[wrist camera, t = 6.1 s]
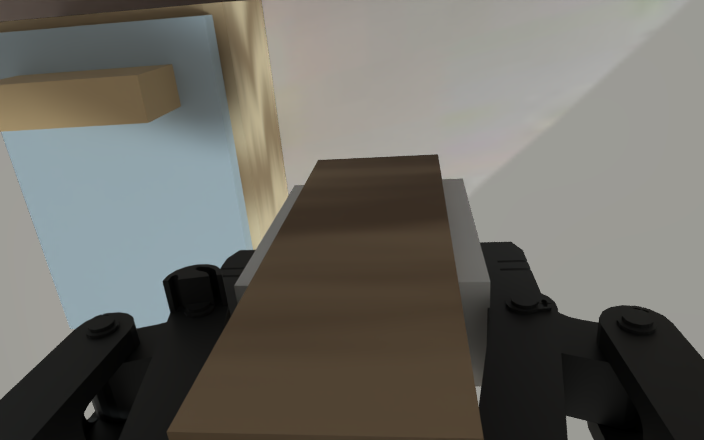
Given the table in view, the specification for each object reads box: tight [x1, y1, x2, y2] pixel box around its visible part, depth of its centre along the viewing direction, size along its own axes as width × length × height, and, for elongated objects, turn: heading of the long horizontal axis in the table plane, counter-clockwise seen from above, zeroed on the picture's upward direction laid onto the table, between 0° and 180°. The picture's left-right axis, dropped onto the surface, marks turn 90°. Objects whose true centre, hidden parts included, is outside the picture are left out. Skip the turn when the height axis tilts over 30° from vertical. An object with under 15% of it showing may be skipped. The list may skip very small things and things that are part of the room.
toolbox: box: [0, 0, 288, 250], centre depth 34 cm, size 25×13×7 cm, turn 5°
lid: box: [0, 15, 253, 329], centre depth 27 cm, size 17×12×4 cm
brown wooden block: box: [167, 155, 484, 440], centre depth 13 cm, size 4×4×12 cm
